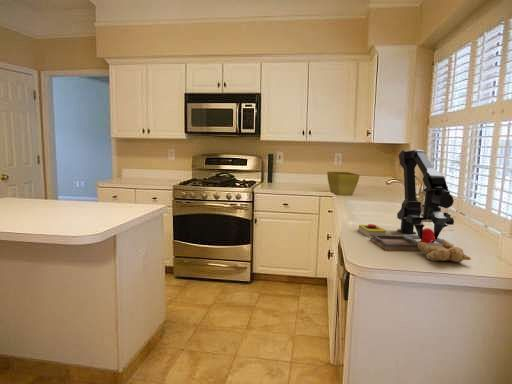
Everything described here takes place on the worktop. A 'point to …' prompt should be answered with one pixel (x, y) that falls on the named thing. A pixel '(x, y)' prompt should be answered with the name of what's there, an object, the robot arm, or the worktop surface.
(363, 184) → the worktop surface
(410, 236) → the tray
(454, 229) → the worktop surface
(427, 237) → the red rounded lump
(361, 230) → the emergency button
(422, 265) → the worktop surface
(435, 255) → the ginger root
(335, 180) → the flower pot
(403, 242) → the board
